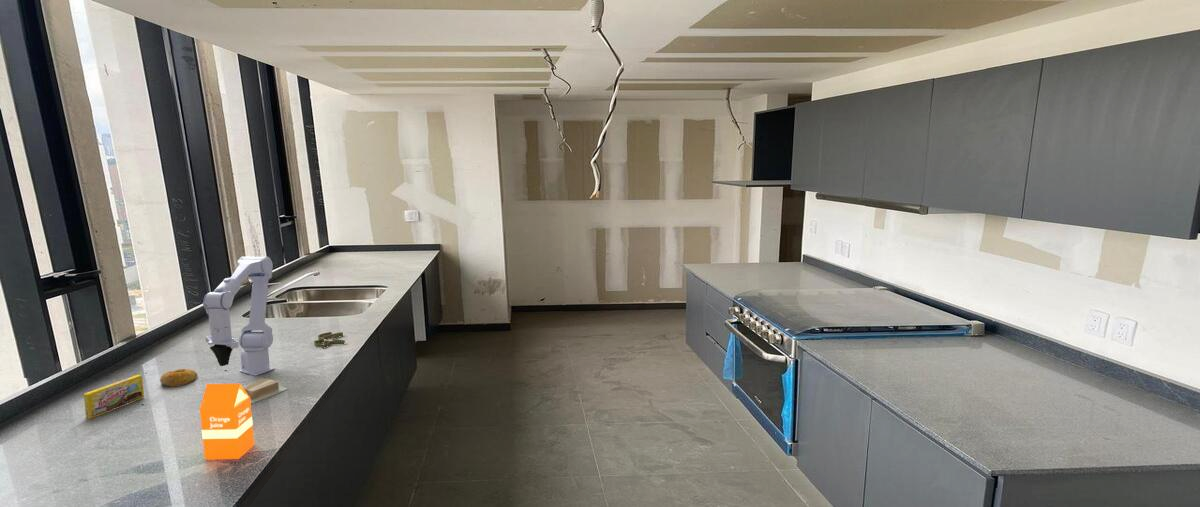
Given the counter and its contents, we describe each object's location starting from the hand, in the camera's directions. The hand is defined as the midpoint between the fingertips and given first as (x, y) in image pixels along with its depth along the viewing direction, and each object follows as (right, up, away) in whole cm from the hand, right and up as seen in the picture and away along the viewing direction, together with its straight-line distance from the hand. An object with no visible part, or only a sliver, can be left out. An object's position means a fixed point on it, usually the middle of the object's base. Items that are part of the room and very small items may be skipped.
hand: (224, 364), depth 182 cm
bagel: (-24, -9, +11) cm, 27 cm away
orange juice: (+26, -17, -34) cm, 47 cm away
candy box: (-27, -12, -10) cm, 32 cm away
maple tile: (+8, -8, +3) cm, 12 cm away
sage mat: (+12, -11, +2) cm, 16 cm away
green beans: (+7, -2, +57) cm, 58 cm away
